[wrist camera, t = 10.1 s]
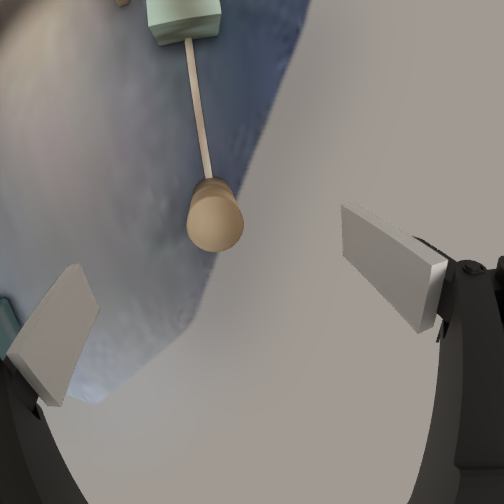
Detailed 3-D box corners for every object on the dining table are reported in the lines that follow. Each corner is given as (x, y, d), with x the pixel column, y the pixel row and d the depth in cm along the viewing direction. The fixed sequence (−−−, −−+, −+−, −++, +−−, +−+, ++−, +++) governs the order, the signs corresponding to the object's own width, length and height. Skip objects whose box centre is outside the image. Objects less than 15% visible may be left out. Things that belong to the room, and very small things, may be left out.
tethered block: (187, 219, 29) (179, 259, 20) (155, 2, 19) (137, -44, 10) (243, 208, 30) (260, 244, 21) (211, -8, 20) (216, -58, 11)
